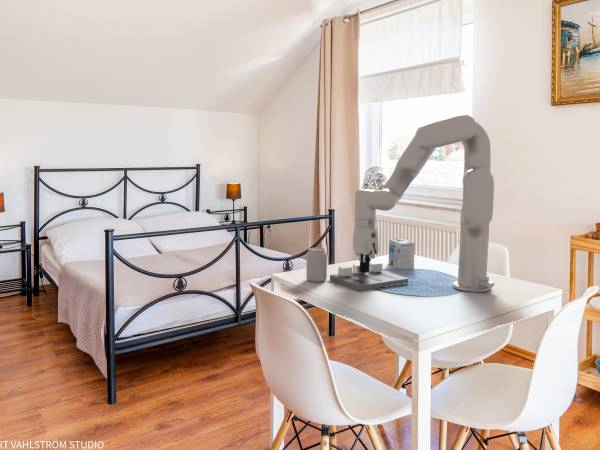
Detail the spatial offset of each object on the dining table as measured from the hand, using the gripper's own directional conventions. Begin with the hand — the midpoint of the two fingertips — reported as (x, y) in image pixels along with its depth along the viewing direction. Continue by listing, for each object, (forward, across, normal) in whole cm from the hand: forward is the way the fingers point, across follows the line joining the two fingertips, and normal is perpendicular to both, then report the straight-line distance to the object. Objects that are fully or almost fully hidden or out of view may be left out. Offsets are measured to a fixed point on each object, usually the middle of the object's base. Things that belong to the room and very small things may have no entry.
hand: (364, 272), depth 193 cm
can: (+3, +9, +16) cm, 18 cm away
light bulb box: (+4, +12, -28) cm, 31 cm away
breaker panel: (+3, -2, 0) cm, 4 cm away
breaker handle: (+1, +3, 0) cm, 3 cm away
